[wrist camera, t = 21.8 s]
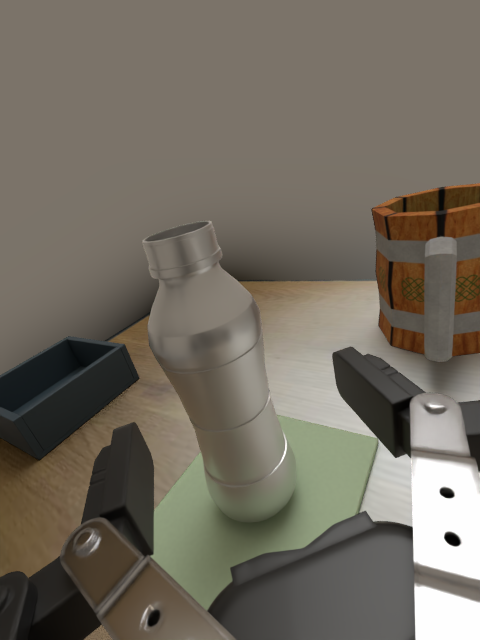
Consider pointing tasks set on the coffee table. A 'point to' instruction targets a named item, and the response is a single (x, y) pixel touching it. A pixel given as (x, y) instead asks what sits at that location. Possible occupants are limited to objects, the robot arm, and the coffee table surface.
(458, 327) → the mug
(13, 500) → the coffee table surface
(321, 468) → the mat
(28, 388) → the bin
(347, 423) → the coffee table surface
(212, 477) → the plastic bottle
